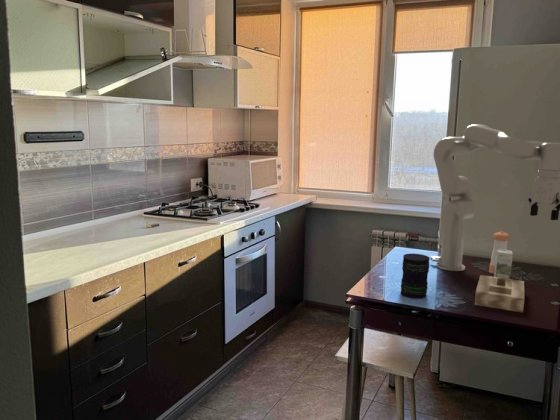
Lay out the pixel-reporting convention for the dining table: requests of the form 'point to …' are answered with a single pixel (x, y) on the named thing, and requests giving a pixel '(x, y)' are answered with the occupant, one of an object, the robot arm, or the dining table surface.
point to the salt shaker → (498, 247)
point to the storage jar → (415, 276)
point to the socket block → (500, 293)
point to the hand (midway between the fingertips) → (543, 217)
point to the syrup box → (503, 264)
